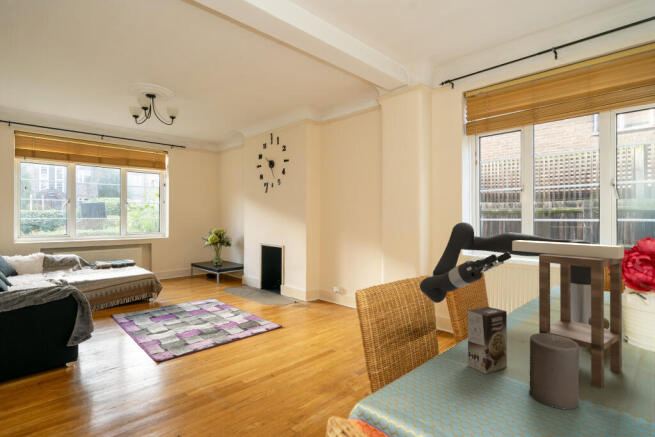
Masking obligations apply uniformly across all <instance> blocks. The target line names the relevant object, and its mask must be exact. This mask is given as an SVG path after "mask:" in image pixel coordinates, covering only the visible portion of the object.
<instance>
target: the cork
mask: <svg viewBox="0 0 655 437" xmlns="http://www.w3.org/2000/svg"><path fill="white" fill-rule="evenodd" d="M588 323H589V325H591V317H590V318H589V320H588ZM604 328H605V329H610V320H608V319H607V318H605V317H604ZM586 351H587V353H589V354H591V349H589V348H586ZM605 357H606V358H607V357H608V358H609V357H610V346H609V347H607V348H606V349H604V358H605Z"/></svg>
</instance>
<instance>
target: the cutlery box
mask: <svg viewBox="0 0 655 437" xmlns="http://www.w3.org/2000/svg"><path fill="white" fill-rule="evenodd" d="M512 250H513V251H525V252H538V253H550V254H563V255H575V256H588V257H600V258H613V259H620V258H622V259H624V258H625V245H611V244H595V243H593V244H592V243H591V244H579V243H560V242H542V241H524V240H517V241H512Z"/></svg>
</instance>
